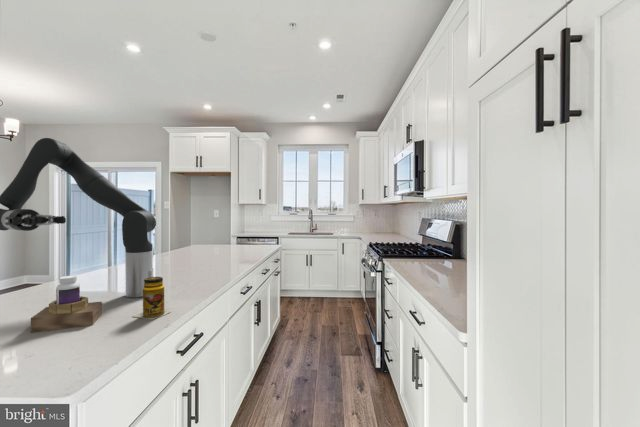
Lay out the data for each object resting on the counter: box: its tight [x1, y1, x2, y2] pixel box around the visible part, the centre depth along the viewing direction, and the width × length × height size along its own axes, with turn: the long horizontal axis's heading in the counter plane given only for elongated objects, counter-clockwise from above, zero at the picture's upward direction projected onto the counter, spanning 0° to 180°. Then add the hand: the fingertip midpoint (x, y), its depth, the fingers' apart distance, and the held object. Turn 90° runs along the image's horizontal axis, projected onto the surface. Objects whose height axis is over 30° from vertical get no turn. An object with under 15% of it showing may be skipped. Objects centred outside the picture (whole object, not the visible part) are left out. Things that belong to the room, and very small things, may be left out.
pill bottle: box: [55, 275, 81, 305], centre depth 90 cm, size 5×5×10 cm
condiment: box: [132, 276, 170, 321], centre depth 97 cm, size 7×8×12 cm
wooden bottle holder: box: [30, 295, 103, 333], centre depth 90 cm, size 14×10×6 cm
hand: (49, 220), depth 100 cm, fingers open, 8 cm apart
